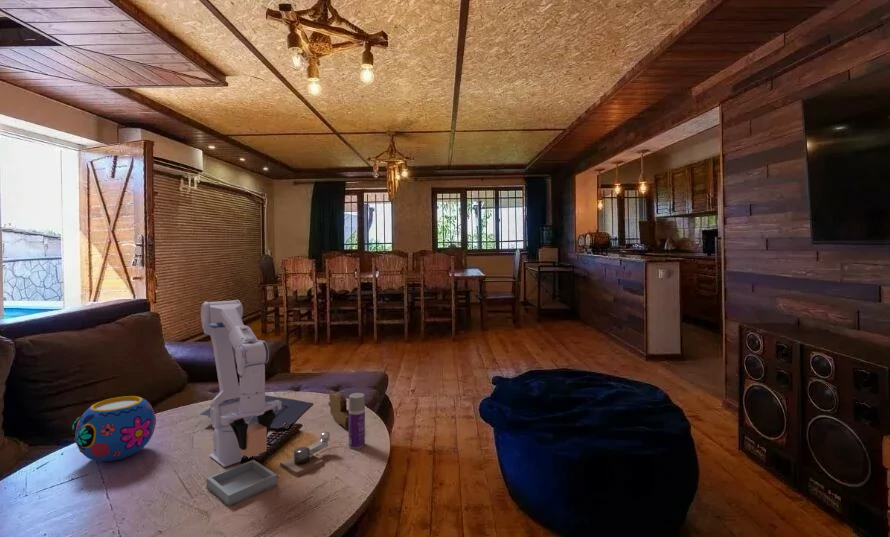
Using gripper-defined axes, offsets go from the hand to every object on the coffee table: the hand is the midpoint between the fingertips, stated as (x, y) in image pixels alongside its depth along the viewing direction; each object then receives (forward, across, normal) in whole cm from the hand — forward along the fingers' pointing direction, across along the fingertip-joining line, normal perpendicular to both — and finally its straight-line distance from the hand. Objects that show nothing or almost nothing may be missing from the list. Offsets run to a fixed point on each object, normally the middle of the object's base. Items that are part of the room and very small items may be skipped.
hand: (252, 444), depth 105 cm
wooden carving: (+9, +36, +12) cm, 39 cm away
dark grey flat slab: (+9, +22, +39) cm, 45 cm away
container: (+9, +29, -5) cm, 31 cm away
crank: (+8, +16, -2) cm, 18 cm away
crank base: (+9, +12, -3) cm, 15 cm away
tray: (+9, -3, -1) cm, 9 cm away
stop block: (+2, 0, 0) cm, 2 cm away
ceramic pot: (+9, -18, +40) cm, 45 cm away
